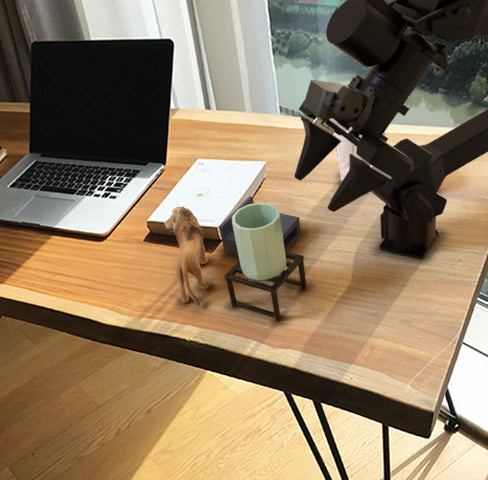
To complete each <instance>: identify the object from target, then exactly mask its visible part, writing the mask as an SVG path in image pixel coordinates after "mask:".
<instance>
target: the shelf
mask: <svg viewBox="0 0 488 480" xmlns="http://www.w3.org/2000/svg"><path fill="white" fill-rule="evenodd" d="M254 203H255V202H254V198H253V196H251V195H249V196H248V197H247V198H246V199H245V200H244V201H243V202H242V203H241V204H240V205H239V206H237V208H236V209H234V211H233V212H232V213H231V214H230V215H229V216H228V217H227V218H226V219H224V221H223V222H221V223H220V225H218V230H219V234H220V238H221V242H222V248H223V252H224V254H228V255H229V256H234V257H238V258H239V255H238V250H237V245H236V240H235V235H234V230H233V225H232V216H233V215H234V213H235V212H236V211H237V210H238V209H240V208H242V207H244V206H246V205H249V204H254ZM279 213H280V220H281V227H282V234H283V241H284V248H285V251H286V252H287V250H288V249H289V247H291V245H292V244H293V243H294V242H295V241H296V240H297V239H298V237H300V235H301V234H302V228H301V222H300V216H295V215H290V214H286V213H281V212H279Z"/></svg>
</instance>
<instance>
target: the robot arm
mask: <svg viewBox="0 0 488 480" xmlns="http://www.w3.org/2000/svg"><path fill="white" fill-rule="evenodd" d="M406 30H409V31H412V32H414V33H408V34H405V32H406ZM325 37H326V39H327V42H328V43H329V44H331V45H332V46H333V47H335V48H337V49H338V50H339V51H341V52H342V53H344V54H345V55H347V56H348V57H350V59H352V60H354V61H355V62H356V63H358V64H359V65H361V66H362V67H365V68H369V67H370V69H369V70H368V72H367V73H366V75H365V76H364V77H362V76H360V75H358V74H357V75H356V76H354V77H352V79H351V80H350V82H349V83H348V84H341V83H338V82H332V81H324V80H317V79H311V80H310V81H309V85H308V88H307V91H306V93H305V98H304V99H303V102H302V103H301V105H300V106H299V107H298V110H299V112H301V113H302V114H304V115H305V116H303V115H300V120H301V122H302V123H303V128H304V133H305V134H304V139H303V140H304V141H303V144H302V149H301V152H300V155H299V158H298V161H297V165H296V169H295V172H294V178H295V179H296V180H298V181H302V180H303V179H305V178H306V177H307V176H308V175H310V173H312V172H313V170H314V169H315V168H317V167H318V165H320V164H321V163H322V162H323V161H324V160H325V159H326V158H327V157H328V155H329V154H331V153H332V152H333V150H335V149H336V146H337V145H338V144H339V143H340V142H341V140H339V139H338V138H337V137H335V136H334V132H335V133H336V134H338V135H339V136H341V135H342V136H343V137H345V138H346V139H347V140H349V141H350V142H351V143H353V144H354V145H355V146H357V152H356V154H357V155H359V156H360V157H361V158H362V159H361V160H360V159H359V158H357V157H355V156H354V155H352V154H350V155H349V160H350V168H349V171H348V173H347V175H346V176H345V178H344V179H343V181H341V183H340V184H339V186H338V187H337V189H336V191H335V192H334V194H333V196H332V197H331V199H330V201H329V203H328V205H327V209H328V210H329V211H331V212H333V213H335V212H337V211H338V210H340V209H342V208H344V207H345V206H348V205H349V204H351V203H352V202H354V201H356V200H357V199H359V198H361V197H363V196H365V195H366V194H368V193H372V194H373V195H374V196H376V197H377V198H378V199H379V200H381V201H382V202H383V203H384V206H383V207H382V209H383V210H382V212H381V213H380V215H379V217H380V218H379V219H380V239H382V241H381V243H380V244H379V245H378V249H379V250H380V251H382V252H383V251H384V252H387V253H393V254H397V255H401V256H405V257H410V258H414V259H419V260H423V259H424V258H425V257H426V256H427V255H428V253H429V252H430V250H431V249H432V247H433V246H434V245H435V243H436V241H437V240H438V238H439V237H440V235H441V231H440V230H438V229H436V228H437V227H436V225H437V224H436V223H437V217H438V216H441V215H443V214H444V212H445V208H446V205H447V202H448V200H447V198H445V197H444V196H443V195H441V194H440V193H438V191H439V190H440V188H441V186H442V185H443V182H444V181H445V179H446V177H448V176H449V175H451V174H452V173H454V172H456V171H458V170H459V169H461V168H462V167H464V166H466V165H468V164H470V163H471V162H473V161H474V160H477V159H478V158H480V157H482V156H484V155H485V154H487V153H488V108H486V109H485V110H484V111H482V112H480V113H478V114H476V115H475V116H473V117H472V118H470V119H468V120H466V121H465V122H463V123H461V124H460V125H458V126H456V127H454V128H452V129H450V130H449V131H447V132H446V133H444V134H442V135H441V136H439V137H437V138H435V139H434V140H432V141H430V142H428V143H425V144H422V145H421V144H420V145H418V144H417V143H415V142H414V141H413V140H410V139H409V138H407V137H406V138H404V139H400V140H399V141H398V142H397V143H395V144H394V145H393V146H392V145H391V143H388V142H387V141H388V140H389V137H387V136H386V135H385V136H384V135H383V133H384V132H385V133H386V131H387V129H388V128H389V126H390V125H391V123H392V122H393V120H394V119H395V117H396V116H397V115H398V114H400V115H402V116H403V117H405V116H406V115H407V113H408V112H409V110H410V107H408V106H406V105H405V103H406V102H407V101H408V99H409V98H410V97H411V95H412V93H413V92H414V91H415V90H416V88H417V87H418V85H419V83H420V82H421V81H422V80H423V78H424V76H425V75H426V73H427V72H428V71H429V70H430V68H431V66H434V67H436V68H438V69H440V70H442V71H446V70H448V68H449V62H448V61H449V60H448V57H447V48H448V47H447V45H446V44H444V43H441V42H439V41H437V40H435V41H432V42H430V41H428V40H427V39H426V38H428V37H436V38H438V39H441V40H443V41H446V42H454V41H456V42H457V41H471V40H473V39H476V38H478V37H488V0H391V1H389V2H387V1H386V0H345V1H344V2H343V3H342V4H341V5H340V6H339V7H337V8H336V9H335V10H334V11H333V13H332V14H331V16H330V18H329V20H328V23H327V25H326V30H325ZM425 37H426V38H425ZM350 127H352V130H351V131H349V128H350ZM359 135H362V137H359ZM356 138H357V139H358V140H357V139H356Z"/></svg>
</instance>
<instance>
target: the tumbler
mask: <svg viewBox="0 0 488 480" xmlns="http://www.w3.org/2000/svg"><path fill="white" fill-rule="evenodd" d="M253 203H254V204H249V205H246V206H244V207H242V208H240V209H238V210H237V211H236V212H235V213H234V215H233V216H232V225H233V230H234V235H235V240H236V245H237V250H238V255H239V257H238V261H239V260H240V265H241V269H242V272H243V273H244V274H243V275H244V276H245V277H246V278H248V279H250V280H254V281H266V279H270V278H273V277H276V276H277V275H279V276H280V274H281V273H282V272H283V271H284V270H286V269H287V267H286V264H287V262H286V261H287V258H286V255H285V248H284V241H283V234H282V227H281V220H280V213H281V212H280V209H279V208H278V207H277V206H275V205H274V204H272V203H266V202H253Z"/></svg>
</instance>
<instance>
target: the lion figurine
mask: <svg viewBox="0 0 488 480" xmlns="http://www.w3.org/2000/svg"><path fill="white" fill-rule="evenodd" d="M171 211H172V214H171V215H170V216H169V218H168V219H167V220H165V221H164V227H165V228H166V229H167V230H169V231H170V232H171V233H173V232H174V235H175V237H176V241H177V243H178V247H179V253H178V255H177V256H176V258H175V259H176V260H175V261H176V264H175V265H176V266H175V267H176V268H175V271H176V276H177V281H178V286H179V294H180V297H181V298H180V300H181V302H182V303H184V304H185V303H189V301H190V297H191V298H192V300H193V302H194V305H196V307H200V306H201V302H200V300H199V298H198V297H197V296H196V295H195V293H194V292H193V290H192V287H191V284H190V281H189V276H188V273H190V274H191V275H192V276H194V278H195V279H196V281H197V286H198V287H200V288H201V289H204V290H207V289H209V287H210V283H209V282H208V281H204V279H203V272H202V268H201V265H206V264H208V262H209V259H208V258H206V249H205V245H204V231H203V229H202V226H201V225H200V223H199V221H198V218H197V216H195V214H194V213H193V212H192V210H191V209H189V208H187V207H185V206H176V207H175V208H173V209H172V210H171ZM200 264H201V265H200ZM186 290H187V291H186ZM187 292H188V294H189V296H188V295H187Z"/></svg>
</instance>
